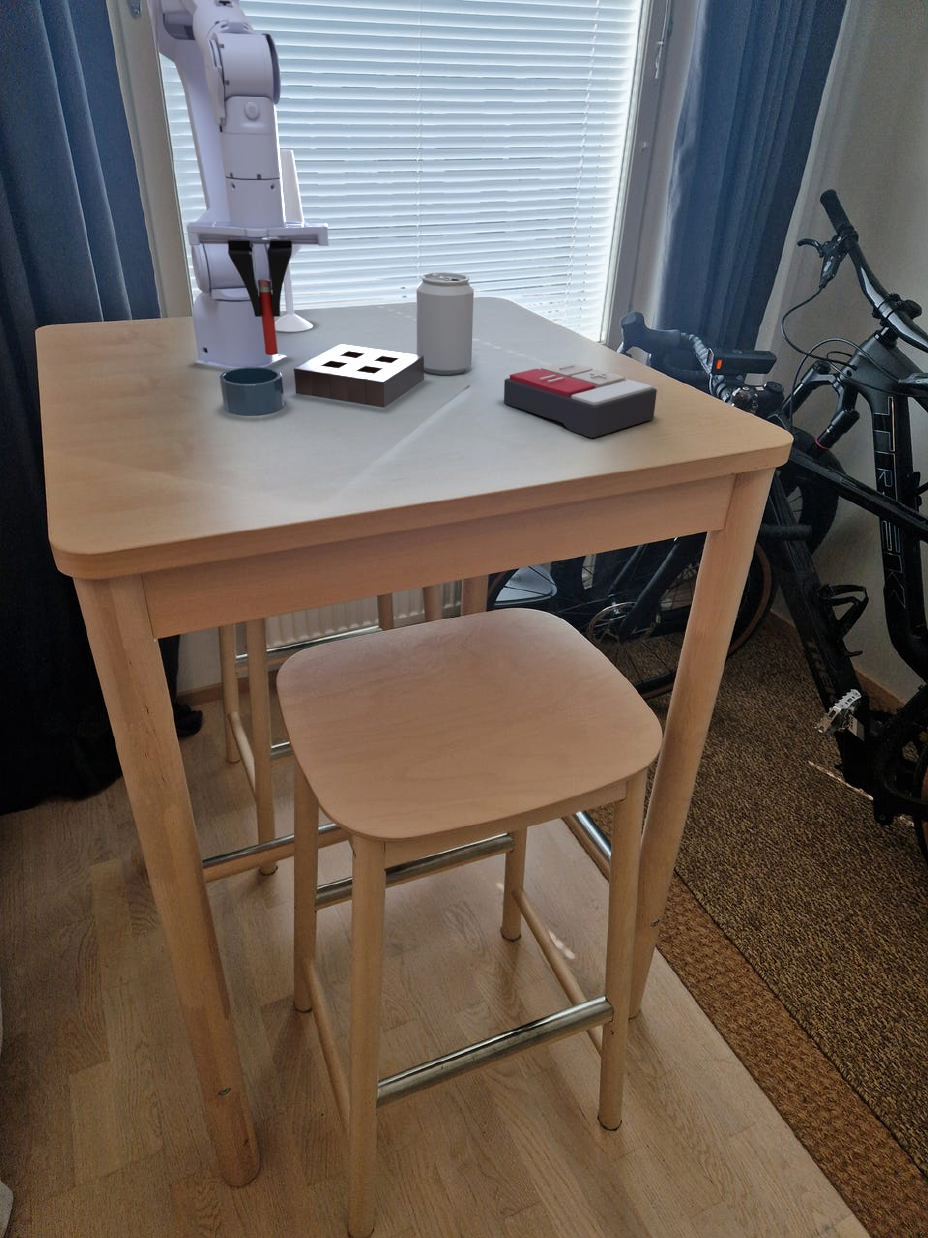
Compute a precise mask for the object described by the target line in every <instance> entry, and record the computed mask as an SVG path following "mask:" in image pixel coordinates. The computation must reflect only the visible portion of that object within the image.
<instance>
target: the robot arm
mask: <svg viewBox="0 0 928 1238" xmlns="http://www.w3.org/2000/svg"><path fill="white" fill-rule="evenodd" d="M146 4H147V10H148V14H149V19H150V25H151V29H152V30H151V31H152V35H153V40H154V42H155V43H156V45H157V50H158V53H159V54H160V55H161V56H163V57H165V58H166V59H168V60H169V61H171V62H172V63H174V66H175V69H176V72H177V73H178V77H179V80H180V82H181V86H182V89H183V92H184V98H185V102H186V108H187V113H188V119H189V125H190V129H191V134H192V140H193V144H194V151H195V155H196V161H197V165H198V171H199V176H200V181H201V187H202V191H203V192H202V193H203V196H204V198H203V199H204V203H205V207H206V211H205V213H203V214H202V215H201V216H200V217H199V218H198V219H197V220H196V221H194V222H193V221H192V222H191V221H189V222H188V223H187V224H186V233H187V238H188V245H189V246H190V250H191V251H190V255H191V261H192V269H193V275H194V278H195V283H196V286H197V288H198V289H199V290H200V291H201V292H200V293H199V294H198V295H197V296H196V298H195V300H194V301H193V307H192V321H193V328H194V334H195V340H196V347H197V355H198V360H196V361H195V363H196V364H199V365H206V366H212V367H218V368H224V369H225V368H226V369H229V370H232V369H236V368H243V367H265V368H268V367H270V366H271V365H274V364H276V363H277V362H279V361H282V360H284V359H286V358H287V356H286V355H285V354H279V353H277V354H275V355H267V354H266V353H265V344H264V335H263V326H262V314H261V305H260V298H259V290H258V279H270V281H271V287H272V309H273V317H274V318H275V317H280V316H281V297H282V290H283V286H284V277H285V273H286V270H287V267H288V264H289V261H290V260H291V259H292V258H291V255H292V248H293V246H292V244H303V245H314V246H315V245H316V246H317V245H318V246H320V247H329V243H330V242H329V228H328V223H317V222H313V223H312V222H304V223H300V222H285V211H284V199H283V188H282V176H281V164H280V152H279V149H280V143H279V141H280V140H279V131H278V119H277V117H278V116H277V108H276V106H277V105H279V103H280V99H281V91H282V78H281V77H282V76H281V65H280V64H281V63H280V59H279V53H278V52H279V51H278V48H277V44H276V41H275V39H274V37H273V35H272V33H271V32H262V33H260V34H257V33H256V32H255V30H254V28H253V26H252V24H251V23H250V21H249V19H248V17H247V16H246V14H245V12H244V10H243V9H242V8H241V0H146ZM276 236H277V238H270V237H276ZM290 258H291V259H290Z"/></svg>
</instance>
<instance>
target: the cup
mask: <svg viewBox="0 0 928 1238" xmlns="http://www.w3.org/2000/svg"><path fill="white" fill-rule="evenodd" d="M219 383H220V392H221V399H222V405H223V409H224V411H226V412H227V413H229V414H231V415H237V416H242V417H259V416H266V415H271V414H274V413H277V412H280V411H281V410H283V409H284V407H285V394H284V386H283V385H284V384H283V376H282V373H281V372H280V371H279V370H277V369H275V368H271V367H243V368H236V369H228V370H226V371H224V372H222V373H221V374H220V375H219Z"/></svg>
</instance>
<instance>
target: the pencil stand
mask: <svg viewBox="0 0 928 1238" xmlns="http://www.w3.org/2000/svg"><path fill="white" fill-rule="evenodd" d="M293 376H294V377H293V378H294V386H295V394H298V395H304V396H308V397H309V396H310V397H315V398H322V399H329V400H335V401H339V402H341V401H342V402H347V403H353V404H360V405H365V406H370V407H371V406H372V407H378V408H383V409H385V408H386V407H387V406H389V405H390V404H392V403H393V402H395V401H396V400H398V398H401V396H403V395H404V394H405V393H407V392H409V391H410V390H412V389H413V388H415V387H416V386H417V385H418V384H420V383H422V382H423V381H424V380H425V371H424V356H421V355H417V354H414V353H405V352H398V351H392V350H384V349H378V348H377V349H376V348H371V347H363V346H356V345H349V344H342V343H341V344H338V345H337V346H335V347H333V348H331V349H329V350H327V351H325V352H323V353H321V354H319V355H318V356H315V357H313V358H312V359H309V360H307V361H305V362H303V363H302V364H299V365H298V366H296V367H294V368H293Z"/></svg>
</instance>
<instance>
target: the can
mask: <svg viewBox="0 0 928 1238" xmlns="http://www.w3.org/2000/svg"><path fill="white" fill-rule="evenodd" d="M420 278H421V279H422V281H421V282H420V283H419V284H418V286H416V355H421V356H424V372H426V373H428V374H433V375H440V376H452V375H458V374H461V373H464V372H465V371H466V369H467V368H468V367H470V366H471V365H472V354H473V350H472V349H473V348H472V347H473V323H474V322H473V321H474V293H475V289H474V287H472V285H471V284H470V277H469V275H467V274H463V273H460V272H453V271H452V272H450V271H436V272H428V273H424V274H422V275H421V277H420Z"/></svg>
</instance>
